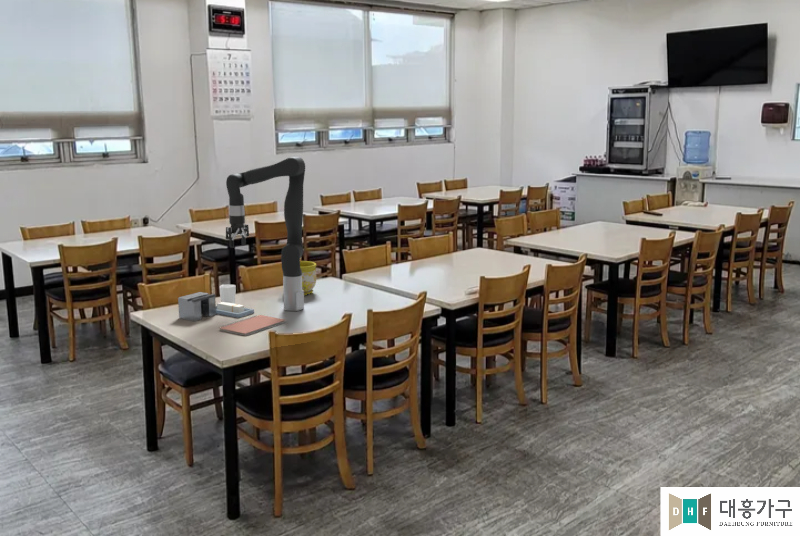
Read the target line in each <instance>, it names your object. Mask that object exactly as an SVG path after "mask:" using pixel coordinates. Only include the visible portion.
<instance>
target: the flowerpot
mask: <svg viewBox="0 0 800 536" xmlns="http://www.w3.org/2000/svg"><path fill="white" fill-rule="evenodd" d="M316 267H317V263H316V262H314V261H311V260H309V261H307V260H300V268H301V270H302V290H304V295H305V296H308V295H307V294H310V293H311V294H312V293H313V292H314V288H315V286H316V283H317V272H316V271H317V269H316ZM311 294H310V295H311Z"/></svg>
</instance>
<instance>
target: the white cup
mask: <svg viewBox="0 0 800 536" xmlns="http://www.w3.org/2000/svg"><path fill="white" fill-rule="evenodd" d="M236 289H237V287H236V284H231V283H230V284H221V285H219V295H220V297H219V298H220V302H228V303H233V304H236V293H237V292H236Z"/></svg>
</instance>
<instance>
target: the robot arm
mask: <svg viewBox="0 0 800 536" xmlns="http://www.w3.org/2000/svg"><path fill="white" fill-rule="evenodd" d="M305 173H306V163H305V161H304V159H303V158H302V157H300V156H289V157H287V158H286V159H283V160H281V161H278V162H276V163H273V164H270V165H266V166H262V167H257V168H252V169H250V170H246V171H244V172H237V173H233V174H229V175H228V176H227V177H226V182H225V183H226V190H227V194H228V197H229V199H228V203H229V205H228V207H229V208H228V219H229V220H228V221H229V224H230V227H229V226H227V227H225V239H226V240H228V242H229V243H228V244H229V245H228V246H229V248H230V249H231V248H232V249H233V248H235V237H237V236H238V235H239V236H240V237H241V238H240V239H241V243H240V244H241V246H247V245H246V244H247V238H248V237H249V236H250V231H249V224H245V223H246V220H245V219H246V215H245V214H246V213H245V198H244V195H243V194H242V193H241V188H244V187H247V186H250V185H255V184H259V183H263V182H266V181H269V180H272V179H274V178H279V177H280V178H281V177H288V181H289V182H288V187H287V192H286V194H285V198H284V202H283V203H284V205H283V207H284V208H283V216H284V223H285V226H286V233H287V234H286V235H287V237H286V244H285V245H284V246H283V247H282V248H281V254H280V256H281V258H280V259H281V260H280V261H281V270H282V278H283V279H282V285H283V286H282V289H283V293H282V294H283V295H282V296H283V310H284V311H288V312H298V311H301V310H304V309H305V296H304V290H302V270H301V268H300V261H301V258H302V257H303V253H304V246H303V224H304V223H303V219H304V181H305V175H306V174H305Z"/></svg>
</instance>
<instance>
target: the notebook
mask: <svg viewBox="0 0 800 536" xmlns="http://www.w3.org/2000/svg"><path fill="white" fill-rule="evenodd" d="M285 323H286V319H283V318H280V317H279V318H278V317H274V316H268V315H265V314H264V315H263V314H259V315H253V316H250V317H247V318H244V319H240V320H237V321H234V322H231V323H227V324H225V325H222V326H219V331H221V332H226V333H230V334H234V335H240V336H244V335H245V336H249V335H253V334H255V333H259V332H261V330H262V331H265V330H267V329H270V328H273V327H276V326H280V325H281V324H285ZM275 325H276V326H275ZM272 326H273V327H272ZM269 327H270V328H269ZM266 328H267V329H266ZM258 331H259V332H258Z"/></svg>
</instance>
